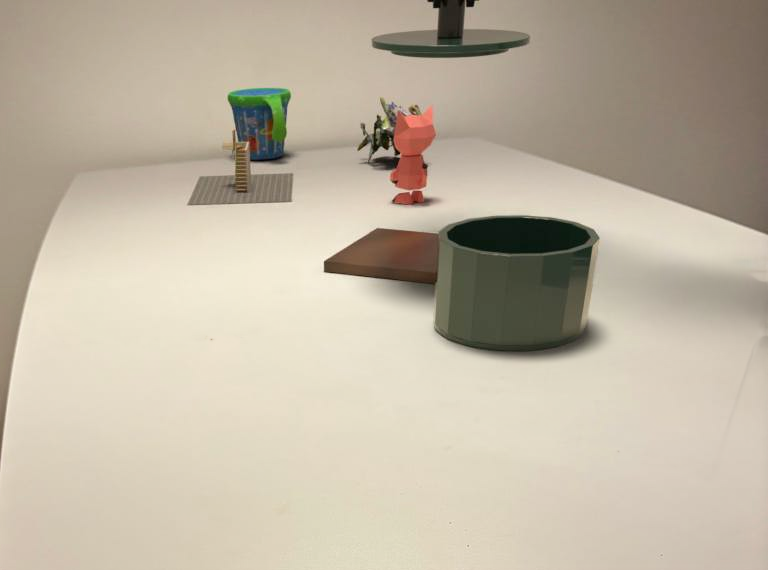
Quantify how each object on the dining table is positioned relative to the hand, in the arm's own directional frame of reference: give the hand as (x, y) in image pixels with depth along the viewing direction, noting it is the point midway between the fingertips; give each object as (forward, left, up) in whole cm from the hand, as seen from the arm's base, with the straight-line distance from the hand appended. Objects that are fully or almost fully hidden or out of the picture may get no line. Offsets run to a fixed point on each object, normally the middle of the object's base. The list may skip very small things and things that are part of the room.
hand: (454, 0), depth 91 cm
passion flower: (+29, -58, -26) cm, 70 cm away
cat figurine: (+16, -34, -26) cm, 46 cm away
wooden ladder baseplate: (+44, -34, -26) cm, 62 cm away
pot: (-12, +12, -26) cm, 31 cm away
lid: (+1, -2, -4) cm, 4 cm away
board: (+4, -6, -26) cm, 27 cm away
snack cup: (+53, -57, -26) cm, 82 cm away
